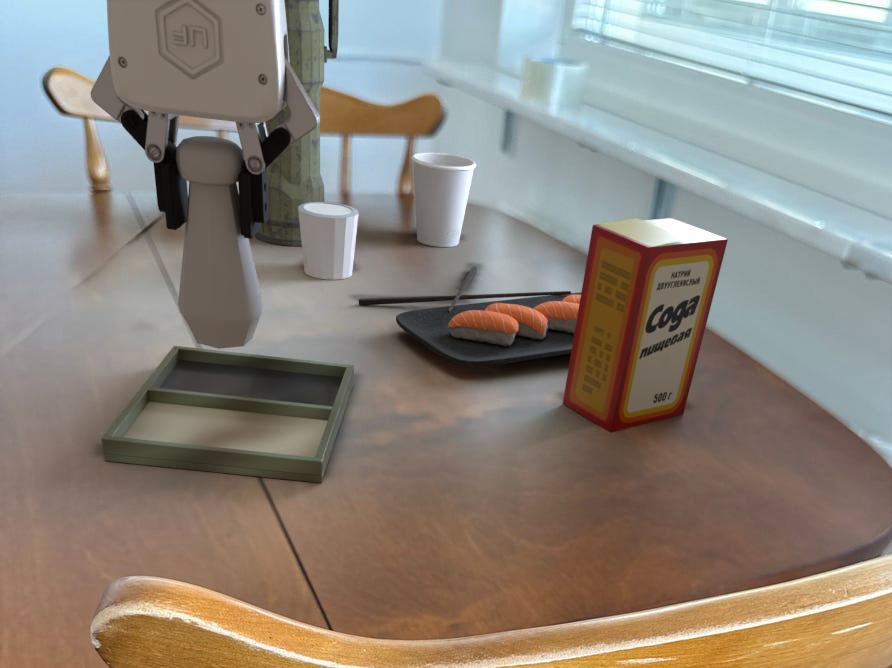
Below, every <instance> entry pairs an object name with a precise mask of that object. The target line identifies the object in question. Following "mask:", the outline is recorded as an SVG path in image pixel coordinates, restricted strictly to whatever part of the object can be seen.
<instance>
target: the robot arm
mask: <svg viewBox="0 0 892 668" xmlns="http://www.w3.org/2000/svg"><path fill="white" fill-rule="evenodd" d="M106 15H107V16H106V17H107V37H108V50H109V55H108V57H107V60H106V61H105V63H104V65H103V67H102V69H101V70H100V73H99V74H98V76H97V78H96V80H95V82H94V84H93V86H92V88H91V90H90V98H91V100H92V101H93V103H94V104H95V105H96V106H98V107H99V108H101V109H102V110H103V111H104V112H105V113H106V114H107V115H109V116H110V118H113V119H114V120H115V121H117V122H118V123H120V124H121V126H122V127H123V128H124V130H125V131H126V132H127V133H128V134H129V135H130V136H131V138H133V139H134V141H135V142H136V143H137V144H138V145H139V146H140V147H141V148H142V149H143V150H144V153H145V156H146V158H147V159H148V160H149V162H152V163H153V172H154V173H153V174H154V182H155V183H154V184H155V191H156V202H157V208H158V209H157V210H158V211H159V212H161V213H164V214H165V215H164V216H165V225H166V229H167V230H170V231H171V230H172V231H177V230H178V229H180V228H181V227H182V226H183V225H184V224H186V217H187V207H188V193H189V190H188V181H187V180H186V179H184V178H183V177H181V176H180V175H179V172H178V170H177V163H176V149H177V142H178V141H177V140H178V132H179V123H180V117H181V116H183V117H190V118H191V117H192V118H198V119H208V120H214V121H215V120H216V121H218V120H219V121H226V122H234V123H235V125H236V131H237V135H238V138H239V142H240V148H241V149H242V151H243V155H244V159H245V160H244V161H243V171H242V172H241V173H240V174H239V175H238V182H237V183H238V184H237V187H238V193H239V205H240V225H241V235H242V236H244V238H249V240H250V239H251V240H252V239H254V238H255V237H256V236H255V235H256V234H257V232H258V231H259V230H260V228H261V223H264V224H265V223H266V222H267V220H268V188H267V167H268V166H269V165H270V164H271V163H272V162H273V161H274V160H275V159H276V158H277V157H278V156H279V155H280V154H281V153H282V152H283V151H284V150H285V149H286V148H287V147H288V146H289V145H291V144H292V143H294V142H296V141H297V140H299V139H300V138H302V137H303V136H305V135H306V134H308V133H309V132H311V131H312V130H314V129H315V128H316V127H317V126H318V125H319V123H320V124H321V115H320V116H319V114H318V112H317V110H316V108H315V107H314V105H313V103H312V101H311V100H310V98H309V96H308V94H307V93H306V91H305V89H304V88H303V86H302V84H301V82H300V81H299V79H298V77H297V75H296V74H295V72H294V70H293V68H292V67H291V65H290V62H289V47H288V35H287V23H286V12H285V2H284V0H106ZM286 106H288V107H289V109H290V112H291V116H290V119H288V120H287V121H285V122H284V123H283V124H281V125H279V126H278V127H277V128H276V129H275V130H273V131H272V132H271V133H270V134H269V135H268V133H267V128H266V124H265V121H268V120H270V119H272V118H273V117H275V116H276V114H277V113H278V112H280V110H282V109H284V108H285V107H286ZM147 112H148V113H147Z"/></svg>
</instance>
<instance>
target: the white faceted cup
mask: <svg viewBox="0 0 892 668" xmlns="http://www.w3.org/2000/svg"><path fill="white" fill-rule="evenodd" d="M298 212H299V222H300V232H301V242H302V246H301V251H302V261H303V273H305V274H306V275H307V276H309V277H312V278H315V279H321V280H328V281H329V280H330V281H336V280H345V279H348V278H351V276H353V269H354V261H355V260H354V259H355V251H356V244H357V243H356V241H357V233H358V232H357V231H358V223H359V210H357V209H356V208H354V207H353V206H349V205H348V204H347V205H346V204H342V203H336V202H327V201H326V202H325V201H324V202H310V203H305V204H302V205H300V206H298Z"/></svg>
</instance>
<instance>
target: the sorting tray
mask: <svg viewBox="0 0 892 668" xmlns="http://www.w3.org/2000/svg"><path fill="white" fill-rule="evenodd" d="M354 376H355V365H354V364H345V363H337V362H336V363H335V362H327V361H317V360H308V359H300V358H299V359H298V358H290V357H282V356H281V357H280V356H272V355H263V354H253V353H245V352H236V351H225V350H218V349H217V350H216V349H207V348H198V347H190V346H189V347H187V346H180V345H174V346H172V347H171V349H170V350H169V351H168V352H167V354H166V355H165V356H164V358H163V359H162V361H161V362H160V363H159V364H158V366H157V367H156V368H155V370H154V371H153V372H152V373H151V374H150V375H149V377H148V378H147V380H146V381H145V382H144V383H143V385H141V387H140V388H139V390H138V391H137V392H136V394H135V395H134V396H133V397H132V399H131V400H130V401H129V403H128V404H127V405H126V406H125V408H124V409H123V410H122V412H121V413H120V414H119V415H118V417H117V418H116V419H115V420H114V422H113V423H112V425H111V426H110V427H109V428H108V429H107V431H106V432H105V433H104V434H103V436H102V437H101V439H100V440H101V447H102V452H103V460H104V462H113V463H123V464H132V465H133V464H134V465H141V466H142V465H143V466H151V467H162V468H172V469H180V470H181V469H182V470H191V471H202V472H211V473H220V474H231V475H238V476H239V475H241V476H251V477H260V478H270V479H279V480H287V481H288V480H290V481H300V482H309V483H319V484H322V483H323V479H324V477H325V474H326V470H327V467H328V465H329V461H330V458H331V455H332V452H333V449H334V445H335V442H336V439H337V436H338V433H339V430H340V427H341V424H342V421H343V418H344V415H345V411H346V408H347V405H348V402H349V399H350V396H351V393H352V390H353V387H354V380H355V379H354V378H355V377H354Z"/></svg>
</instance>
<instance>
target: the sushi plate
mask: <svg viewBox="0 0 892 668" xmlns="http://www.w3.org/2000/svg"><path fill="white" fill-rule="evenodd" d="M477 271H478V267H477V266H471V268H470V270H469V272H468V274H467V275H466V277H465V279H464V281H463V282H462V285H461V286H460V289H459V290H458V292H457V293H456V294H455V295H453V294H452V295H423V296H394V297H393V296H392V297H369V298H367V297H366V298H365V297H364V298H358V306H379V305H396V304H414V303H429V302H430V303H432V302H446V301H447V302H448V301H451V304H450V305H447V306H439V307H438V306H437V307H429V308H421V309H415V310H409V311H404V312H400V313H399V314H397V315H395V322H396V324H397V325H398V326H399V328H401V329H402V330H403V331H404V332H405V333H407V334H408V335H409V336H410V337H412V338H414V339H415V340H416V341H418V342H419V343H421V344H422V345H423V346H424V347H427V348H428V349H429V350H431V351H432V352H434V353H436V354H437V355H439V356H440V357H442V358H444V359H445V360H448V361H450V362H453V363H454V364H458V365H462V366H469V367H470V366H471V367H491V366H499V365H507V364H513V363H520V362H526V361H534V360H539V359H540V360H541V359H547V358H552V357H561V356H566V355H571V351H572V345H573V339H574V333H575V327H576V322H577V316H578V310H579V304H580V298H581V292H582V291H579V292H572V291H571V290H562V291H561V290H560V291H559V290H557V291H535V292H534V291H533V292H531V291H530V292H512V293H509V292H508V293H507V292H506V293H483V294H463V293H464V291H465V290H466V289H467V287H468V286H469V284H470V283H471V281H472V280H473V278H474V277H475V275H476V273H477ZM520 297H521V298H520ZM502 298H512V299H503V300H494V301H484V302H474V303H466V304H457V303H458V301H465V300H480V299H502Z"/></svg>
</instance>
